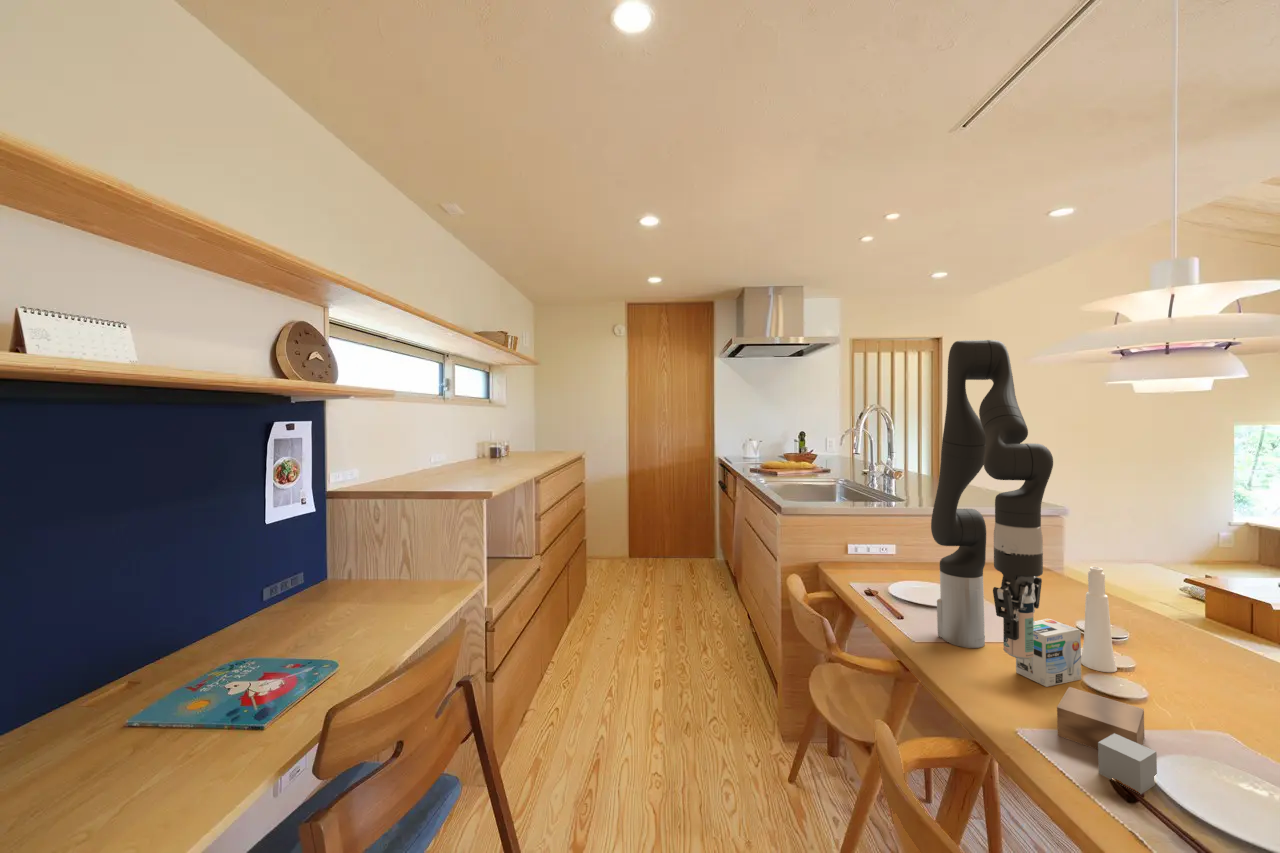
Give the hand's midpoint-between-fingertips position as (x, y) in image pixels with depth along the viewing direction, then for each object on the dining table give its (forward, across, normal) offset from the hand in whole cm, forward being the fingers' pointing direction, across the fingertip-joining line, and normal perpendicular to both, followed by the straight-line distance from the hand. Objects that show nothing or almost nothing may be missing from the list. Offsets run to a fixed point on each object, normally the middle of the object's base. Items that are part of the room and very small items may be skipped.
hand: (1018, 634), depth 96 cm
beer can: (+4, 0, 0) cm, 4 cm away
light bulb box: (+15, -19, -2) cm, 24 cm away
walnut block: (+14, -2, +12) cm, 18 cm away
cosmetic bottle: (+15, -33, +1) cm, 36 cm away
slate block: (+14, +8, +18) cm, 24 cm away
